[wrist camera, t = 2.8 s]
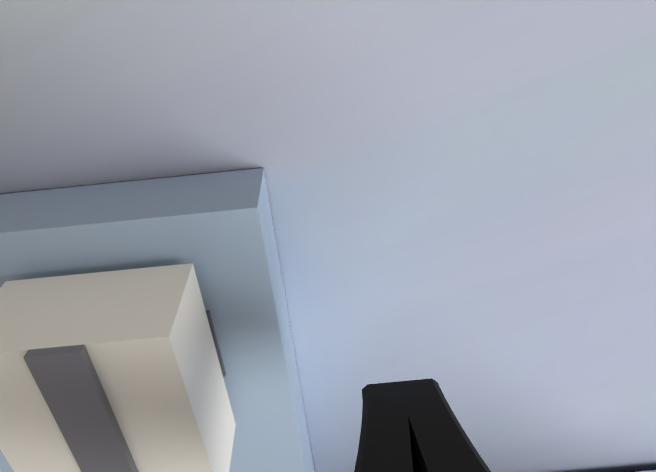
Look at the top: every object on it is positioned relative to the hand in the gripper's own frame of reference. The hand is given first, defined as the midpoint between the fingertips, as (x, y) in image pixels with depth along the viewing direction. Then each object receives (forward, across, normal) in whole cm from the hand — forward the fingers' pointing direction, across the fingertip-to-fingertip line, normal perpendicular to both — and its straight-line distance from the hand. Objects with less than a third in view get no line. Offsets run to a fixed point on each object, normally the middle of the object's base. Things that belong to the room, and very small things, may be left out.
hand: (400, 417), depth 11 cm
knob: (+2, +6, 0) cm, 7 cm away
